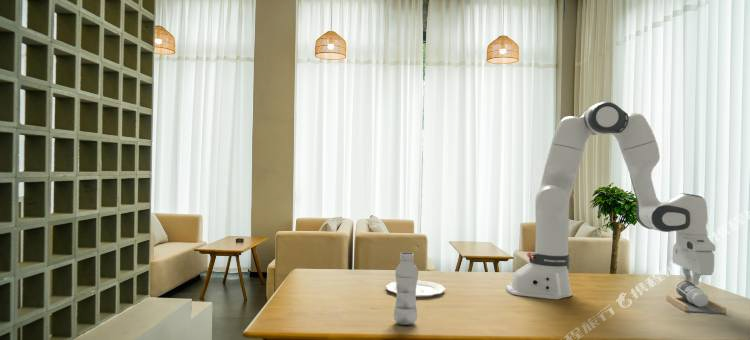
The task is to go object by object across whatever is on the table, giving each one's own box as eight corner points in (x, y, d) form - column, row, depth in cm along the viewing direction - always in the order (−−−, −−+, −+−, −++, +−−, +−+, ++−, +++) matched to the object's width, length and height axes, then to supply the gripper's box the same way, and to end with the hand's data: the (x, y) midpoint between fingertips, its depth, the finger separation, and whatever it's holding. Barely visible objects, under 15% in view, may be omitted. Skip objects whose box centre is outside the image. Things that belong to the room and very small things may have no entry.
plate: (374, 289, 172) (374, 284, 172) (417, 281, 185) (417, 277, 185) (412, 303, 156) (412, 298, 156) (457, 294, 168) (457, 289, 168)
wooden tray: (684, 311, 151) (684, 305, 151) (665, 299, 165) (665, 294, 165) (725, 314, 149) (726, 308, 149) (703, 302, 163) (703, 296, 163)
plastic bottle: (392, 320, 138) (393, 251, 137) (415, 320, 138) (416, 251, 138) (395, 327, 131) (396, 255, 131) (419, 327, 132) (420, 255, 132)
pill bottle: (690, 296, 165) (708, 309, 155) (673, 294, 165) (690, 307, 156) (694, 280, 164) (712, 293, 154) (677, 278, 164) (693, 291, 154)
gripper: (667, 237, 171) (667, 275, 171) (696, 246, 151) (696, 289, 151) (686, 237, 170) (686, 275, 170) (718, 246, 150) (718, 290, 150)
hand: (691, 282), depth 161 cm, fingers open, 3 cm apart
